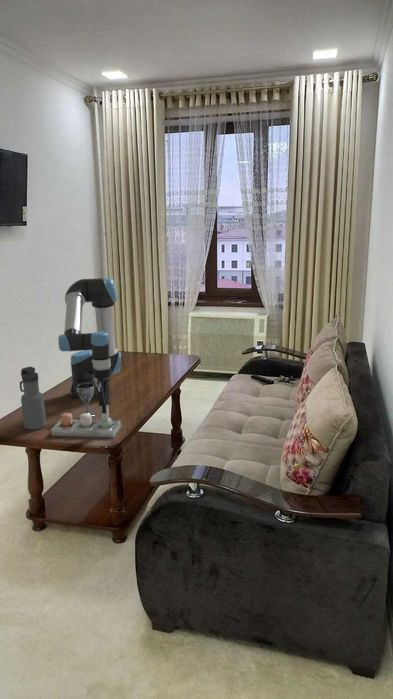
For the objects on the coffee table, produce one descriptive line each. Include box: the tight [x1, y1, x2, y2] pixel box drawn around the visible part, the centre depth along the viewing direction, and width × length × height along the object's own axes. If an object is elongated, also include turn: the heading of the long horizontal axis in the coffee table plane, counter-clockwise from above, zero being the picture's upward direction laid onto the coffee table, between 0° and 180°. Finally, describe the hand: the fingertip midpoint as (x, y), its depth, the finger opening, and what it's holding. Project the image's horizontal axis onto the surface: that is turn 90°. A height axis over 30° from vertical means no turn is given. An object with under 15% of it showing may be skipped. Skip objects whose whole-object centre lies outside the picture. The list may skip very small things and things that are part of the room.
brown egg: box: [59, 412, 73, 427], centre depth 227 cm, size 5×5×5 cm
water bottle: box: [19, 366, 47, 431], centre depth 230 cm, size 10×10×28 cm
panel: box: [50, 418, 122, 438], centre depth 226 cm, size 12×28×3 cm, turn 83°
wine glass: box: [77, 383, 96, 417], centre depth 244 cm, size 8×8×15 cm
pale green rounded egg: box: [99, 417, 112, 428], centre depth 225 cm, size 5×5×5 cm
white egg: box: [79, 412, 93, 427], centre depth 226 cm, size 5×5×5 cm
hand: (105, 419), depth 224 cm, fingers closed
